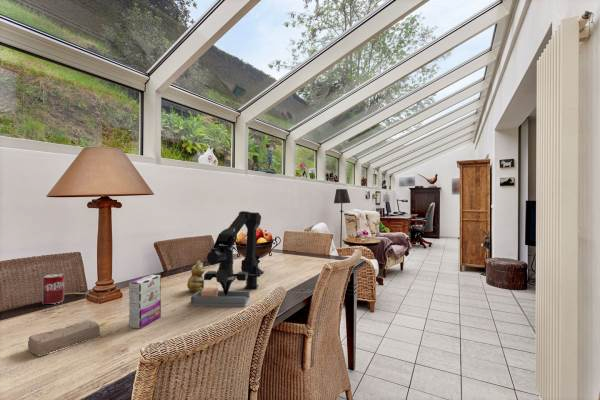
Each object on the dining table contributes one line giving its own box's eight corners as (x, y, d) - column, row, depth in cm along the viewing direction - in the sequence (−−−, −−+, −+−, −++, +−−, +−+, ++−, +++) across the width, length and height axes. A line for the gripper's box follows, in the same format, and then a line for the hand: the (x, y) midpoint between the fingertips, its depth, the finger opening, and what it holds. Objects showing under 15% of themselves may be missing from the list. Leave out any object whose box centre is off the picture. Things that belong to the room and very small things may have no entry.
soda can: (67, 301, 129) (67, 274, 129) (47, 306, 122) (48, 278, 122) (58, 298, 132) (58, 272, 132) (38, 303, 125) (39, 276, 125)
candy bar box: (150, 315, 114) (150, 274, 114) (161, 317, 113) (161, 275, 113) (127, 328, 103) (128, 281, 103) (139, 329, 102) (140, 282, 102)
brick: (88, 330, 101) (89, 317, 101) (101, 336, 97) (101, 322, 97) (26, 352, 87) (26, 336, 87) (38, 359, 82) (38, 343, 82)
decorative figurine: (204, 292, 142) (205, 262, 142) (186, 294, 140) (187, 263, 140) (204, 287, 151) (204, 258, 152) (187, 288, 149) (187, 259, 149)
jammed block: (205, 296, 134) (205, 287, 134) (218, 296, 133) (218, 287, 134) (200, 300, 128) (200, 291, 128) (214, 300, 127) (214, 291, 128)
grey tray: (199, 296, 137) (199, 289, 137) (249, 297, 136) (249, 290, 136) (189, 305, 125) (189, 297, 125) (244, 306, 124) (245, 298, 124)
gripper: (199, 264, 123) (199, 300, 123) (243, 264, 122) (242, 301, 122) (208, 258, 134) (207, 292, 134) (248, 259, 134) (247, 292, 134)
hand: (226, 294), depth 131 cm, fingers closed
